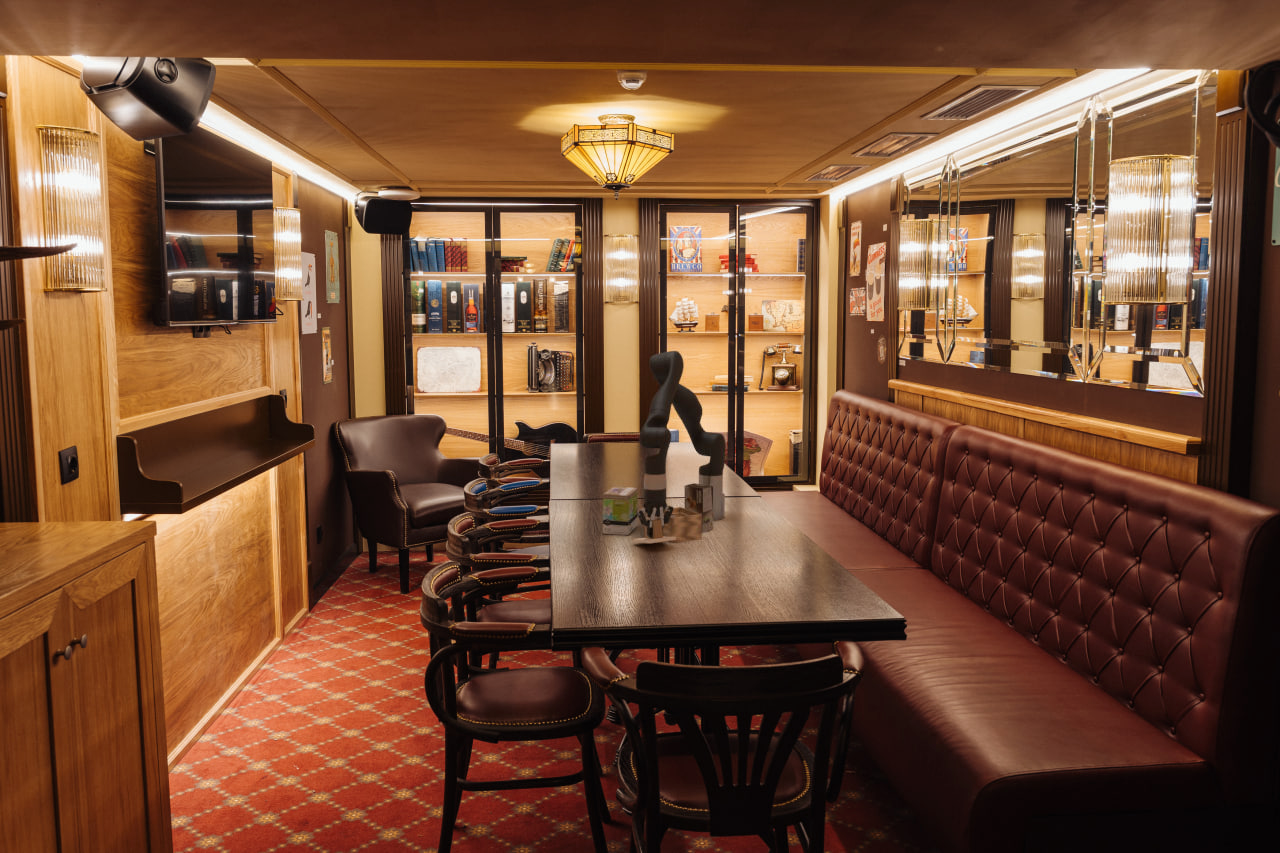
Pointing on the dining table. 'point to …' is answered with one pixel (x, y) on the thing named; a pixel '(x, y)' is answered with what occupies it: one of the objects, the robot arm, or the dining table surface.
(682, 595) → the dining table surface
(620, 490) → the tea box
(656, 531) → the lid
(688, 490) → the coffee box
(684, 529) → the crate
